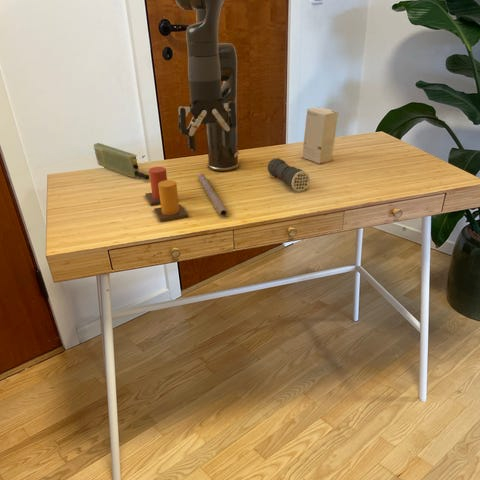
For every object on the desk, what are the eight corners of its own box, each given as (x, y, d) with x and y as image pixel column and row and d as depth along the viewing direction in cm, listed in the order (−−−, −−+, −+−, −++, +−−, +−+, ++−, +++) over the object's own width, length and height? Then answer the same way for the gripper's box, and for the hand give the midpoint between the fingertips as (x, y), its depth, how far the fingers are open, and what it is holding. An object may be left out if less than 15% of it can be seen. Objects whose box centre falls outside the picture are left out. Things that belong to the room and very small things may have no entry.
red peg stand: (145, 196, 126) (141, 167, 121) (170, 192, 128) (167, 163, 123) (151, 205, 121) (146, 175, 116) (176, 201, 123) (173, 171, 118)
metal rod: (220, 217, 114) (219, 209, 113) (198, 180, 135) (197, 173, 134) (227, 216, 114) (227, 208, 113) (204, 179, 135) (204, 173, 134)
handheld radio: (105, 162, 150) (153, 180, 136) (96, 165, 148) (144, 183, 134) (100, 141, 146) (149, 157, 132) (91, 144, 144) (140, 160, 130)
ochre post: (154, 211, 118) (149, 180, 113) (180, 206, 120) (177, 176, 115) (160, 222, 113) (156, 190, 108) (188, 217, 114) (184, 185, 110)
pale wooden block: (301, 158, 149) (304, 108, 140) (315, 154, 152) (318, 105, 143) (320, 164, 144) (324, 113, 135) (333, 160, 146) (338, 110, 138)
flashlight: (265, 176, 137) (265, 157, 133) (281, 173, 138) (282, 154, 135) (292, 193, 125) (292, 173, 122) (308, 189, 127) (310, 170, 124)
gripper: (227, 72, 112) (230, 141, 122) (171, 77, 108) (178, 148, 118) (238, 76, 106) (240, 148, 116) (179, 82, 102) (186, 156, 112)
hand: (209, 148), depth 117 cm, fingers open, 8 cm apart
